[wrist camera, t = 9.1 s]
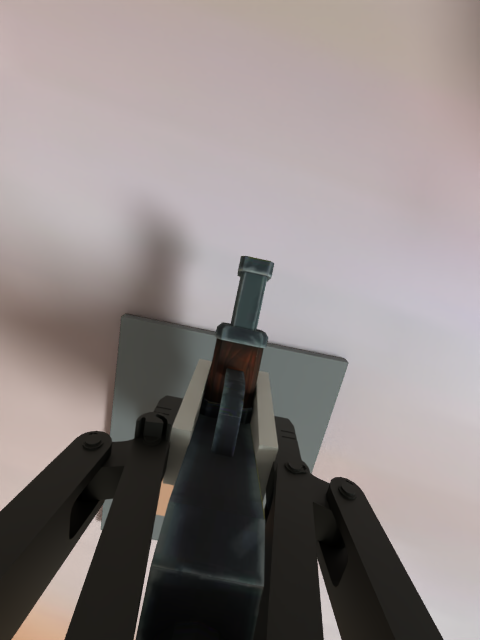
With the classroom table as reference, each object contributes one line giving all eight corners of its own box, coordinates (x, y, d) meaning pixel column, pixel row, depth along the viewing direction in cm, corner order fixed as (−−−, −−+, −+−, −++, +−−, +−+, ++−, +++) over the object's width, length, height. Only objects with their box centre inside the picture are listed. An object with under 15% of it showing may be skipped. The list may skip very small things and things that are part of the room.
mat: (125, 313, 24) (121, 316, 23) (345, 358, 24) (348, 362, 23) (104, 522, 30) (100, 529, 29) (280, 554, 30) (281, 563, 29)
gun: (468, 88, 3) (190, 1357, 4) (271, 277, 20) (226, 493, 20) (224, 31, 3) (-40, 1330, 3) (232, 268, 20) (187, 486, 20)
